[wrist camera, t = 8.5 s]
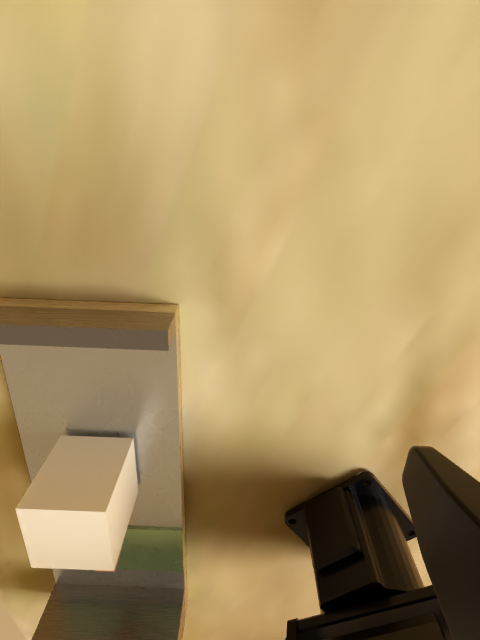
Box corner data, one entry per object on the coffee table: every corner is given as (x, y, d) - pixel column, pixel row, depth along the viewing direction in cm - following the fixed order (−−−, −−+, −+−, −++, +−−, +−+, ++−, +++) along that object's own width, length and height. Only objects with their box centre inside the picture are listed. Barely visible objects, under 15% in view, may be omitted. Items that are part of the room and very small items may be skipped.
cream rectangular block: (60, 435, 22) (15, 508, 18) (133, 438, 22) (105, 512, 18) (81, 545, 26) (48, 628, 21) (143, 548, 26) (122, 631, 21)
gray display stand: (0, 297, 20) (-82, 350, 15) (178, 304, 20) (156, 359, 15) (67, 595, 30) (31, 687, 25) (187, 600, 30) (175, 692, 25)
